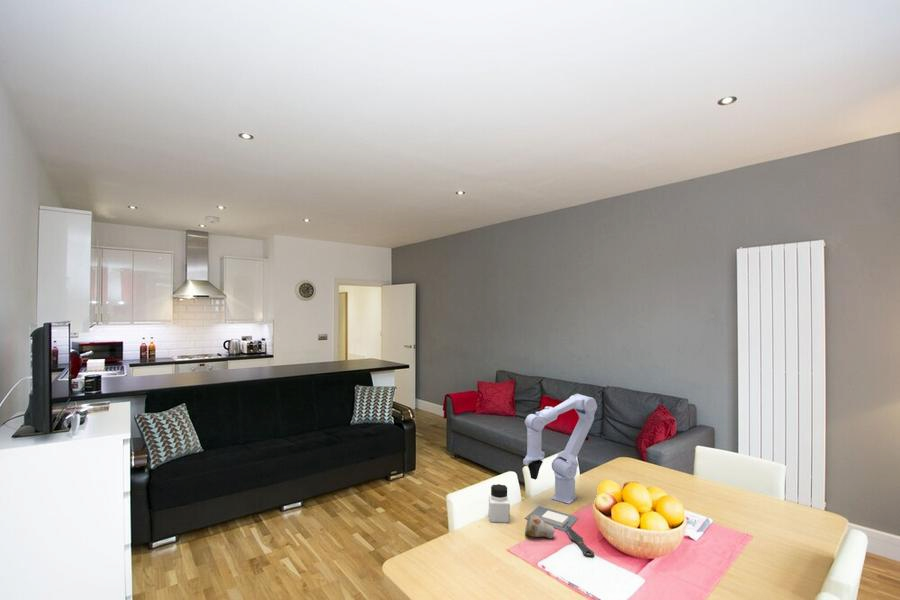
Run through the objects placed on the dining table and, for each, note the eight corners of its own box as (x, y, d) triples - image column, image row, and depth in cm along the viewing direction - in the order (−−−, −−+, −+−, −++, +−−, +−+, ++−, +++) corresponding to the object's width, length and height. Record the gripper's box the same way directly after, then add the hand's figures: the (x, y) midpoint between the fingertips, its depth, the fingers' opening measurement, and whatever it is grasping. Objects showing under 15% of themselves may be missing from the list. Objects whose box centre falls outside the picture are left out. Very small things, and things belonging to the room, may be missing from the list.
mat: (539, 506, 168) (539, 505, 168) (578, 518, 158) (578, 517, 158) (524, 518, 157) (524, 517, 157) (566, 532, 148) (566, 531, 148)
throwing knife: (584, 557, 132) (584, 555, 132) (558, 525, 152) (559, 523, 152) (597, 556, 133) (597, 554, 133) (570, 524, 152) (570, 523, 152)
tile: (548, 510, 160) (541, 516, 155) (568, 516, 155) (562, 522, 151) (548, 515, 160) (541, 521, 155) (568, 521, 155) (562, 527, 150)
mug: (557, 544, 141) (543, 518, 140) (531, 551, 144) (517, 526, 143) (558, 528, 148) (544, 503, 147) (533, 535, 151) (519, 511, 150)
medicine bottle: (509, 522, 154) (509, 489, 154) (489, 522, 154) (490, 489, 155) (507, 513, 161) (507, 482, 162) (488, 513, 161) (489, 481, 162)
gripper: (534, 450, 164) (534, 486, 163) (551, 442, 175) (551, 476, 174) (518, 447, 168) (518, 481, 168) (536, 439, 179) (535, 471, 179)
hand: (534, 478), depth 171 cm, fingers closed
